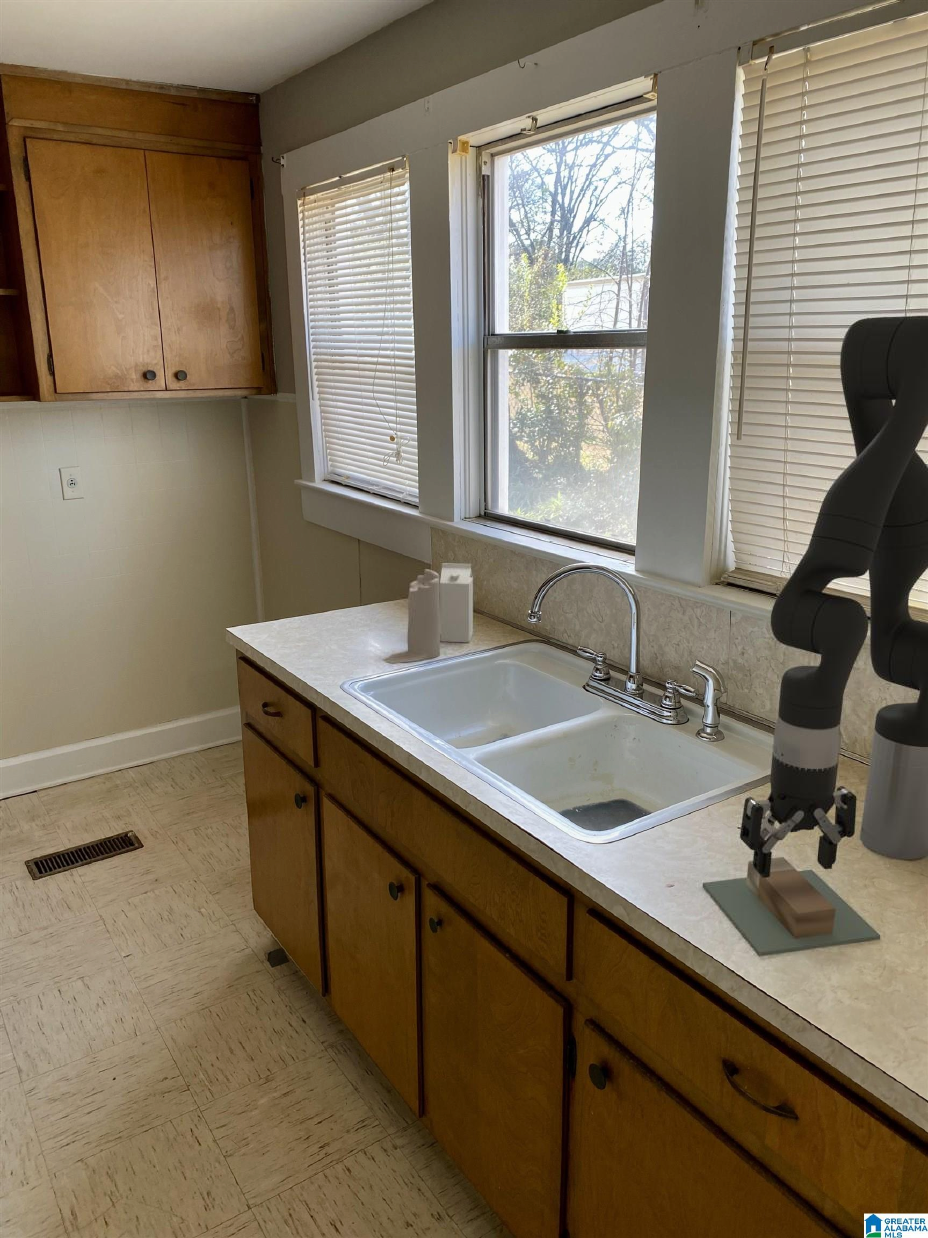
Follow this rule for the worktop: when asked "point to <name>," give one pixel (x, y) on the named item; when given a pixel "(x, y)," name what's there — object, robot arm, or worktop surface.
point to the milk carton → (456, 602)
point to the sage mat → (769, 931)
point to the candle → (422, 620)
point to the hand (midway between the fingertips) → (793, 870)
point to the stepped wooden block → (792, 899)
